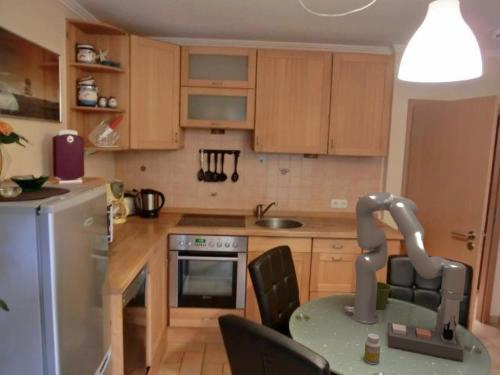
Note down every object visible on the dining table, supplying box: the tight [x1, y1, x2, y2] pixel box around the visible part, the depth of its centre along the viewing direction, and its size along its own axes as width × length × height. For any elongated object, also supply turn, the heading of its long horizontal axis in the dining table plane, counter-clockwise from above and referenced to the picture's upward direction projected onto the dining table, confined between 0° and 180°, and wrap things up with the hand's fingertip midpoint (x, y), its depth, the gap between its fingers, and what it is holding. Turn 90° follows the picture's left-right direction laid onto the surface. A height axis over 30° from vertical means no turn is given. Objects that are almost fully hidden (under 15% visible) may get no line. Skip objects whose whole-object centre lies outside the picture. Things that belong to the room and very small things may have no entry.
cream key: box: [392, 322, 407, 335], centre depth 144 cm, size 5×5×4 cm
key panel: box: [387, 322, 464, 363], centre depth 141 cm, size 26×12×5 cm, turn 70°
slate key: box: [440, 335, 457, 345], centre depth 137 cm, size 5×5×4 cm
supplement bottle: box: [364, 333, 381, 365], centre depth 130 cm, size 5×5×10 cm
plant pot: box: [376, 281, 393, 310], centre depth 177 cm, size 12×12×11 cm
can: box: [435, 304, 457, 334], centre depth 152 cm, size 8×8×12 cm
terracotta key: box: [416, 327, 431, 340], centre depth 140 cm, size 5×5×4 cm
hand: (447, 338), depth 138 cm, fingers closed
